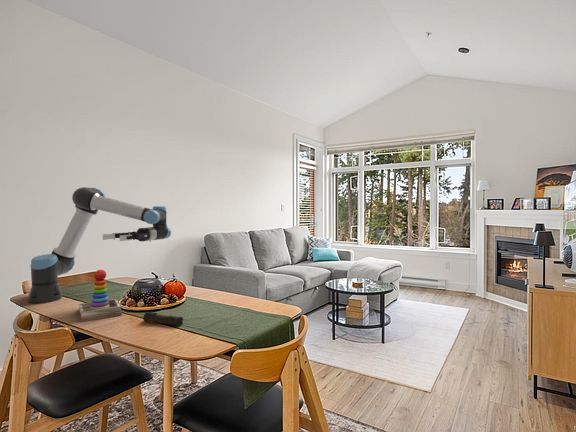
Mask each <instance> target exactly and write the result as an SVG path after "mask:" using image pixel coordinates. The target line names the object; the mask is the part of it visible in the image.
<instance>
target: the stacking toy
mask: <svg viewBox="0 0 576 432" xmlns="http://www.w3.org/2000/svg"><path fill="white" fill-rule="evenodd" d="M93 277H94V279H95V280H94V281H93V284H94V285H93V287H92V288H93V290H92V294H91V295H92V296H91V297H92V298H91V308H90V309H91V310H98V309H105V308H109V304H108V303H109V301H108V300H109V296H108V295H109V293H108V288H107V280H106V277H107V271H105V270H104V269H98V270H96V271H95V272H94V273H93Z"/></svg>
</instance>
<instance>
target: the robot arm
mask: <svg viewBox="0 0 576 432" xmlns="http://www.w3.org/2000/svg"><path fill="white" fill-rule="evenodd" d="M71 199H72V202H73V204H74V207H75V209H76V210H75V212H74V214H73V216H72V218H71V220H70V221H69V224H68V226H67V228H66V230H65V233H64V234H63V236H62V239H61V240H60V243H59V245H58V246H57V247H54V248H53V250H52V251H51V253H50V254H48V253H46V254H42V255H37V256H34V257H33V258H31V260H30V273H31V274H30V275H31V278H30V279H31V287H30V291H29V292H28V297H27V302H28V303H29V304H30V303H31V304H41V303H43V304H44V303H51V302H54V301H55V302H56V301H58V300H60V299H62V298H63V292H62V290H61V288H60V285H59V281H58V279H59V278H58V277H59V276H61V275H65V274H67V273H68V272H70V271H71V270H72V269H73V268H74V266H75V257H76V253H75V251H76V250H77V247H78V245H79V244H80V241H81V239H82V237H83V235H84V233H85V231H86V229H87V227H88V225H89V223H90V221H91V220H92V217H93V216H95V215H97V214H98V212H99V211H102V212H106V213H110V214H114V215H119V216H122V217H125V218H128V219H133V220H137V221H142V222H145V223H147V224H149V225H152V226H148V227H139V228H138V229H137V230H136V231H128V232H115V233H114V232H113V233H105V234H102V240H103V241H105V240H113V241H114V240H115V239H119V241H120V242H125V241H135V240H137V241H138V242H148V241H149V242H152V241H157V240H165V239H169V238H170V237H171V235H172V230H171V228H170V226H169V225H167V213H168V212H167V207H166V206H164V205H157V206H156V205H154V206H152V208H149V207H143V206H140V205H136V204H133V203H129V202H125V201H121V200H118V199H113V198H110V197H106V194H105V193H104V191H102V190H101V189H99V188H97V187H84V186H83V187H78V188H77V189H75V191H73V193H72V195H71Z"/></svg>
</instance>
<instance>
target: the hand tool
mask: <svg viewBox="0 0 576 432" xmlns="http://www.w3.org/2000/svg"><path fill="white" fill-rule="evenodd" d="M143 314H144V315H143V317H142V318H143V322H145V323H148V324H155V323H156V324H164V325H171V326H176V327H177V328H179V327H181V326H182V325H183V323H184V322H183V321H184V318H183V316H176V315H175V316H174V315H164V314H158V313H157V312H153V311H146V312H145V313H143Z"/></svg>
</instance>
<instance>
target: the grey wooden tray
mask: <svg viewBox="0 0 576 432" xmlns="http://www.w3.org/2000/svg"><path fill="white" fill-rule="evenodd" d="M108 301H109V303H108V304H109V308H105V309H98V310H91V309H90V308H91V302H92V301H91V302H84V303H83V302H82V303H78V310H79V316H80V319H81V322H83V323H84V322H88V321H93V320H100V319H102V320H103V319H107V318H113V317H119V316H120V317H121V316H123V312H122V305H121V304H120V303H119V301H118V299H117V298H111V299H108Z"/></svg>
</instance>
